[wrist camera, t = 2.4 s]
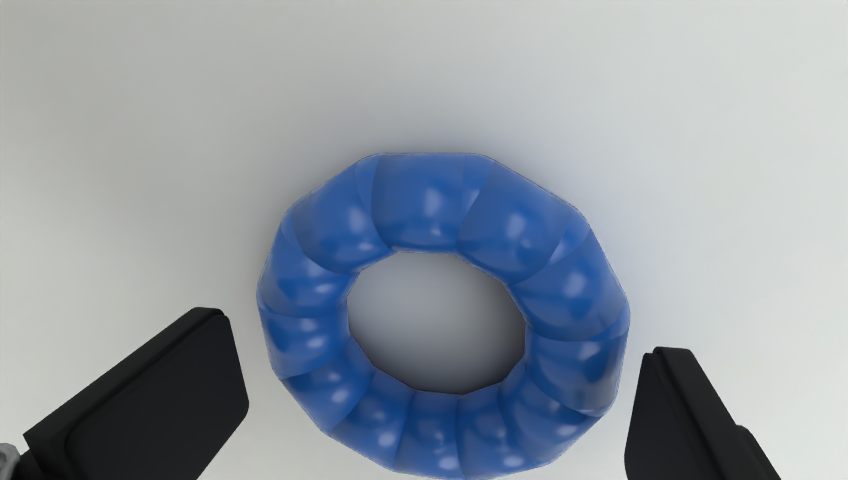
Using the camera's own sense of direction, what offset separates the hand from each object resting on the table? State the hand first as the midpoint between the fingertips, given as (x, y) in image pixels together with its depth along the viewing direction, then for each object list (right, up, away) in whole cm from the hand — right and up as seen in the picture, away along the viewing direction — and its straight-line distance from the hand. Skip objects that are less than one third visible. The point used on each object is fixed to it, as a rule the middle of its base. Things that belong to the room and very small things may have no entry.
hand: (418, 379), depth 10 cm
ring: (0, +1, +1) cm, 1 cm away
